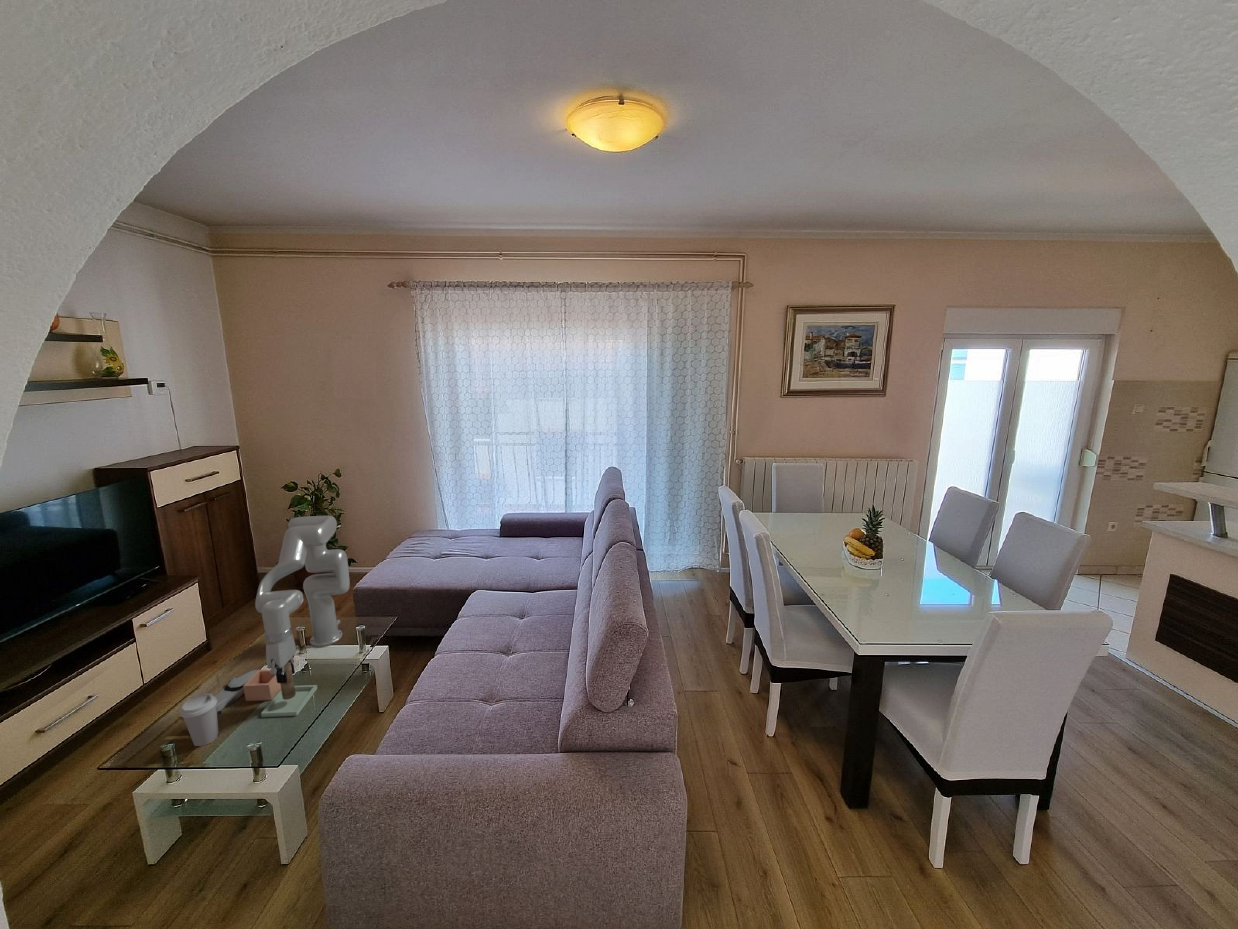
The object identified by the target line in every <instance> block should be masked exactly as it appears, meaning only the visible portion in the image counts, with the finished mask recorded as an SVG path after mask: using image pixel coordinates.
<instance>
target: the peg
mask: <svg viewBox="0 0 1238 929" xmlns="http://www.w3.org/2000/svg"><path fill="white" fill-rule="evenodd" d="M278 670H281V668H278ZM284 671H285V672H286V676H287V682H286V683H280V685H281V691H282V697H283V699H284V700H287V699H291V698H293V697H294V696H295V695H296V693H295V687H294V686H295V682H294V674H292V668H291V663H290V662H287V663H286V664H285V665H284Z"/></svg>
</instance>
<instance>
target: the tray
mask: <svg viewBox="0 0 1238 929" xmlns="http://www.w3.org/2000/svg"><path fill="white" fill-rule="evenodd" d="M294 687H295V693H296V695H295V696H294V697H293V698H291V699H287V700H284V699H283V697H282V691H281V690H280V691H279V692H278V693H277V694H276V696H275V697H274V698H273V699H272V700H270V702H269V703H268V704H267V706H266V707H264V708H263V710H262V711H261V712H260V716H261V718H270V717H272V718H273V717H277V718H278V717H295V716H296V717H297V716H298V715H299V714H300V713H301V711H302V710H303V708H304V707H305V706H306V705H307V703H308V702H309V701H310V699H311V697H312V696H313V695H314V694H315V692H316V691H317V690H318V685H317V684H309V685H308V684H307V685H306V684H305V685H294Z"/></svg>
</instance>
